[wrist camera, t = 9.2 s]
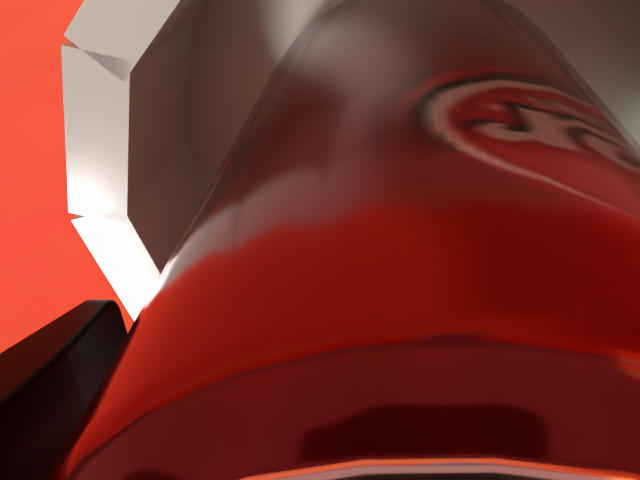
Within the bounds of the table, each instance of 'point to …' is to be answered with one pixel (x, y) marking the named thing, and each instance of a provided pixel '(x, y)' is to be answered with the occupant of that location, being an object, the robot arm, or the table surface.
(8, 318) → the table surface
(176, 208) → the bowl
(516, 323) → the soda can
